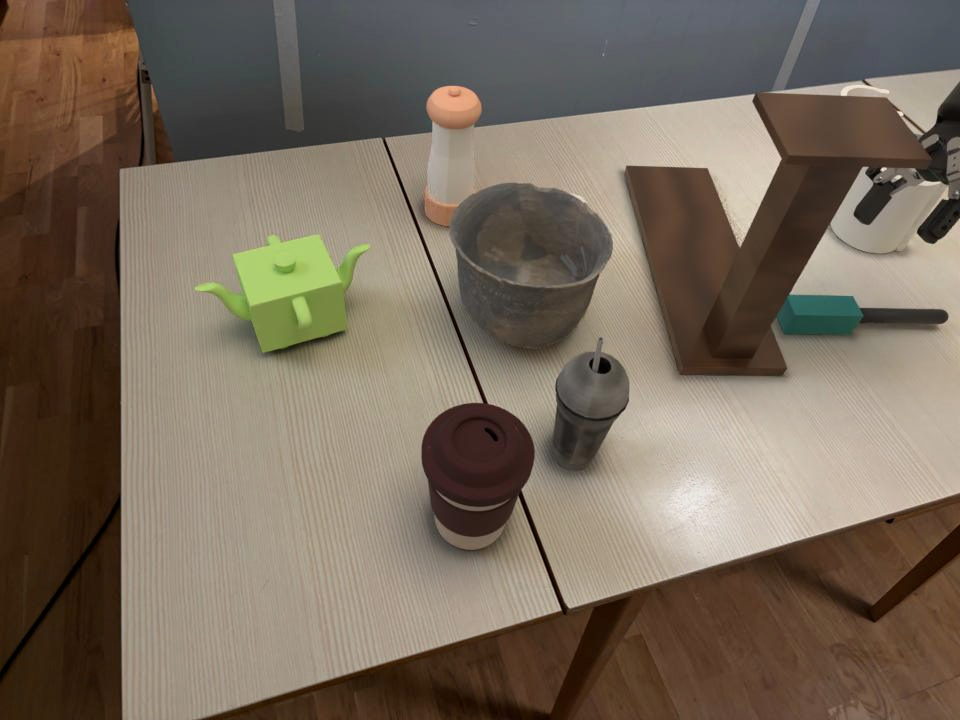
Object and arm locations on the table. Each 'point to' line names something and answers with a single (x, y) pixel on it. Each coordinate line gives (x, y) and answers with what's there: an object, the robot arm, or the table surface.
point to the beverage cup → (587, 405)
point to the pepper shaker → (450, 151)
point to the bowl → (528, 261)
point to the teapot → (290, 290)
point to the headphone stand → (758, 227)
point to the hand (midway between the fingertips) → (890, 229)
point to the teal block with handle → (845, 315)
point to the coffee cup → (475, 471)
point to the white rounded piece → (896, 216)
